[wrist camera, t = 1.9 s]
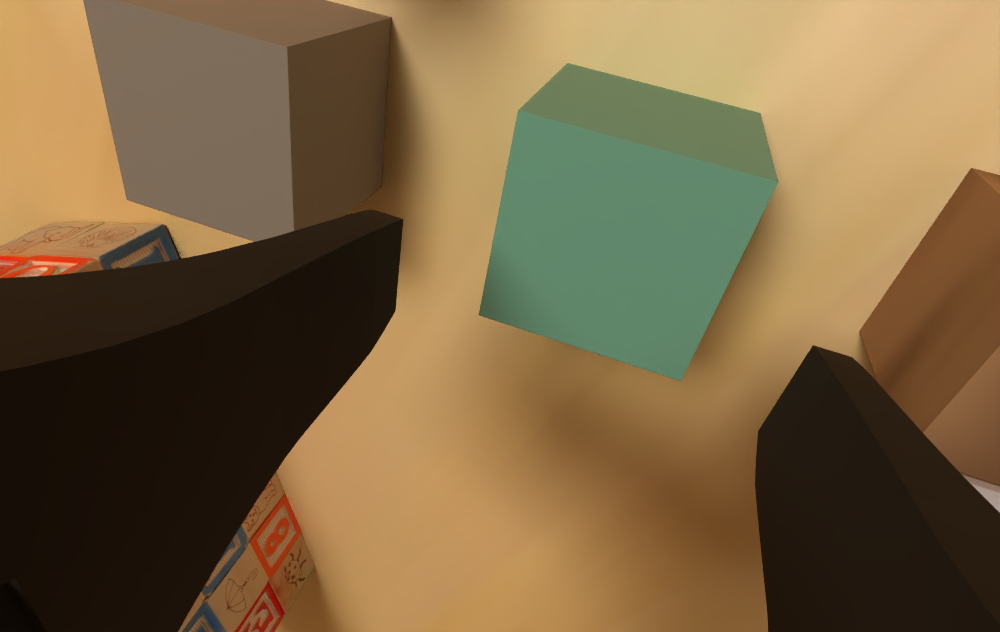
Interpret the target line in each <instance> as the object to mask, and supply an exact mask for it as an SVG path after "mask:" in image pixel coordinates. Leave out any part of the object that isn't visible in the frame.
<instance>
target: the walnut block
mask: <svg viewBox="0 0 1000 632" xmlns="http://www.w3.org/2000/svg"><path fill="white" fill-rule="evenodd" d="M859 332H860V335H861V338H862V340H863V343H864V346H865V348H866V351H867V354H868V357H869V359H870V362H871V365H872V368H873V370H874V373H875V376H876V379H877V381H878V384H879V385H880V386H881V387H882V388H883V389H884V390H885V391H886V392H887V393H888V395H889V396H890V397H891V398H892V399H893V400H894V401H895V402H896V403H897V405H898V406H899V407H900V408H901V409H902V410H903V411H904V412H905V413H906V415H907V416H908V417H909V418H910V419H911V420H912V421H913V422H914V423H915V425H916V426H917V427H918V428H919V429H920V430H921V431H922V432H923V433H924V434H925V436H926V437H927V438H928V439H929V440H930V441H931V442H932V443H933V444H934V445H935V447H936V448H937V449H938V450H939V451H940V452H941V453H942V454H943V455H944V456H945V457H946V458H947V459H948V461H949V462H950V463H951V464H952V465H953V466H954V467H955V468H956V469H957V470H958V471H959V472H960V473H963V474H966V475H969V476H972V477H975V478H978V479H981V480H984V481H987V482H990V483H993V484H996V485H999V486H1000V175H996V174H993V173H989V172H985V171H981V170H977V169H973V168H971V169H970V171H969V172H968V173H967V175H966V176H965V178H964V179H963V181H962V182H961V184H960V185H959V187H958V188H957V190H956V191H955V192H954V194H953V195H952V197H951V198H950V200H949V201H948V203H947V204H946V206H945V207H944V209H943V210H942V211H941V213H940V214H939V216H938V217H937V219H936V220H935V222H934V223H933V225H932V226H931V228H930V229H929V230H928V232H927V233H926V235H925V236H924V238H923V239H922V241H921V242H920V244H919V245H918V247H917V248H916V249H915V251H914V252H913V254H912V255H911V257H910V258H909V260H908V261H907V263H906V264H905V265H904V267H903V268H902V270H901V271H900V273H899V274H898V276H897V277H896V279H895V280H894V282H893V283H892V284H891V286H890V287H889V289H888V290H887V292H886V293H885V295H884V296H883V298H882V299H881V301H880V302H879V303H878V305H877V306H876V308H875V309H874V311H873V312H872V314H871V315H870V317H869V318H868V320H867V321H866V322H865V324H864V325H863V327H862V328H861V330H860V331H859Z"/></svg>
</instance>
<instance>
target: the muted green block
mask: <svg viewBox="0 0 1000 632" xmlns="http://www.w3.org/2000/svg"><path fill="white" fill-rule="evenodd" d="M777 183H778V179H777V175H776V172H775V168H774V164H773V160H772V156H771V153H770V149H769V145H768V141H767V137H766V133H765V130H764V126H763V122H762V118H761V114H760V113H758V112H754V111H750V110H746V109H742V108H738V107H735V106H731V105H727V104H723V103H719V102H715V101H711V100H708V99H704V98H700V97H696V96H692V95H688V94H684V93H681V92H677V91H673V90H669V89H665V88H661V87H658V86H654V85H650V84H646V83H642V82H638V81H634V80H631V79H627V78H623V77H619V76H615V75H611V74H608V73H604V72H600V71H596V70H592V69H588V68H584V67H581V66H577V65H573V64H569V63H567V64H566V65H565V66H564V67H563V68H562V69H561V70H560V71H559V72H558V73H557V74H556V75H555V76H554V77H553V78H552V79H551V80H550V81H549V82H547V83H546V84H545V85H544V86H543V87H542V88H541V89H540V90H539V91H538V92H537V93H536V94H535V95H534V96H533V97H532V98H531V99H530V100H529V101H528V102H527V103H525V104H524V105H523V106H522V107H521V108H520V109H519V110H518V114H517V119H516V124H515V130H514V135H513V140H512V145H511V150H510V156H509V161H508V166H507V171H506V176H505V182H504V187H503V192H502V197H501V202H500V208H499V213H498V218H497V223H496V228H495V233H494V239H493V244H492V249H491V254H490V259H489V265H488V270H487V275H486V280H485V285H484V291H483V296H482V301H481V306H480V311H479V315H480V316H483V317H486V318H489V319H492V320H495V321H498V322H501V323H504V324H507V325H510V326H513V327H517V328H520V329H523V330H526V331H529V332H532V333H535V334H538V335H541V336H544V337H547V338H550V339H553V340H556V341H559V342H562V343H565V344H569V345H572V346H575V347H578V348H581V349H584V350H587V351H590V352H593V353H596V354H599V355H602V356H605V357H608V358H611V359H614V360H617V361H620V362H624V363H627V364H630V365H633V366H636V367H639V368H642V369H645V370H648V371H651V372H654V373H657V374H660V375H663V376H666V377H669V378H672V379H676V380H679V381H681V380H682V378H683V376H684V374H685V372H686V370H687V368H688V366H689V364H690V362H691V360H692V357H693V355H694V353H695V351H696V349H697V347H698V345H699V343H700V341H701V339H702V337H703V335H704V333H705V331H706V329H707V327H708V325H709V323H710V321H711V319H712V316H713V314H714V312H715V310H716V308H717V306H718V304H719V302H720V300H721V298H722V296H723V294H724V292H725V290H726V288H727V286H728V284H729V282H730V280H731V278H732V275H733V273H734V271H735V269H736V267H737V265H738V263H739V261H740V259H741V257H742V255H743V253H744V251H745V249H746V247H747V245H748V243H749V241H750V239H751V237H752V234H753V232H754V230H755V228H756V226H757V224H758V222H759V220H760V218H761V216H762V214H763V212H764V210H765V208H766V206H767V204H768V202H769V200H770V198H771V195H772V193H773V191H774V189H775V187H776V185H777Z"/></svg>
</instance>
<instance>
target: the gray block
mask: <svg viewBox="0 0 1000 632" xmlns="http://www.w3.org/2000/svg"><path fill="white" fill-rule="evenodd" d="M83 1H84V6H85V11H86V15H87V20H88V24H89V29H90V33H91V38H92V43H93V47H94V52H95V56H96V61H97V65H98V70H99V75H100V79H101V84H102V88H103V93H104V98H105V102H106V107H107V111H108V116H109V120H110V125H111V130H112V134H113V139H114V143H115V148H116V152H117V157H118V162H119V166H120V171H121V175H122V180H123V184H124V189H125V194H126V198H127V200H129V201H132V202H135V203H138V204H141V205H144V206H147V207H150V208H153V209H156V210H159V211H162V212H165V213H169V214H172V215H175V216H178V217H181V218H184V219H187V220H190V221H193V222H196V223H199V224H202V225H205V226H208V227H211V228H214V229H217V230H220V231H223V232H227V233H230V234H233V235H236V236H239V237H242V238H245V239H248V240H251V241H254V242H256V241H260V240H264V239H268V238H272V237H275V236H279V235H282V234H285V233H289V232H292V231H296V230H299V229H302V228H306V227H309V226H312V225H316V224H319V223H322V222H326V221H329V220H333V219H336V218H339V217H343V216H345V215H346V214H347V213H349V212H350V211H351V210H352V209H354V208H355V207H356V206H358V205H359V204H360V203H361V202H363V201H364V200H365V199H366V198H368V197H369V196H370V195H371V194H373V193H374V192H375V191H377V190H378V189H379V188H380V187H381V185H382V168H383V152H384V135H385V118H386V102H387V85H388V68H389V52H390V35H391V18H392V17H388V16H384V15H380V14H376V13H372V12H369V11H365V10H361V9H357V8H353V7H349V6H345V5H342V4H338V3H334V2H330V1H326V0H83Z"/></svg>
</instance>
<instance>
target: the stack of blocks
mask: <svg viewBox="0 0 1000 632" xmlns="http://www.w3.org/2000/svg"><path fill="white" fill-rule="evenodd" d="M178 259H180V258H179V256H178V254H177V252H176V250H175V247H174V245H173V243H172V242H171V239H170V236H169V234H168V232H167V230H166V228H165V226H164V225H163V224H137V223H106V224H105V223H103V222H57V223H51V224H48V225H45V226H43V227H40V228H38V229H36V230H34V231H31V232H29V233H27V234H25V235H23V236H21V237H18V238H16V239H14V240H12V241H10V242H8V243H6V244H4V245H2V246H0V278H13V277H30V276H47V275H60V274H70V273H79V272H89V271H98V270H107V269H116V268H126V267H134V266H141V265H148V264H154V263H160V262H166V261H172V260H178ZM314 566H315V565H314V562H313V560H312V558H311V555H310V553H309V551H308V548H307V546H306V544H305V541H304V539H303V537H302V534H301V529H300V527H299V525H298V522H297V520H296V518H295V515H294V513H293V511H292V509H291V506H290V504H289V502H288V499H287V497H286V495H285V493H284V490H283V488H282V485H281V482H280V480H279V478H278V476H277V473H276V472H275V474H274V475H273V477H272V478H271V480H270V481H269V483H268V484H267V486H266V487H265V489H264V490H263V492H262V494H261V495H260V497H259V498H258V500H257V501H256V503H255V504H254V506H253V507H252V509H251V511H250V512H249V514H248V515H247V517H246V519H245V520H244V522H243V523H242V525H241V527H240V528H239V530H238V531H237V533H236V535H235V536H234V538H233V539H232V541H231V543H230V544H229V546H228V547H227V549H226V551H225V552H224V554H223V556H222V557H221V559H220V561H219V562H218V564H217V566H216V567H215V569H214V571H213V573H212V574H211V576H210V578H209V579H208V581H207V583H206V584H205V586H204V588H203V590H202V591H201V593H200V595H199V596H198V598H197V600H196V601H195V603H194V605H193V607H192V608H191V610H190V612H189V613H188V615H187V617H186V619H185V621H184V622H183V624H182V626H181V628H180V630H179V631H178V632H275V630H276V628H277V626H278V625H279V623H280V621H281V620H282V618H283V616H284V613H286V612H288V610H289V609H290V608H291V606H292V604H293V602H294V601H295V599H296V597H297V596H298V594H299V592H300V591H301V589H302V587H303V585H304V583H305V582H306V580H307V579H308V577H309V575H310V573H311V572H312V570H313V568H314Z"/></svg>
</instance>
